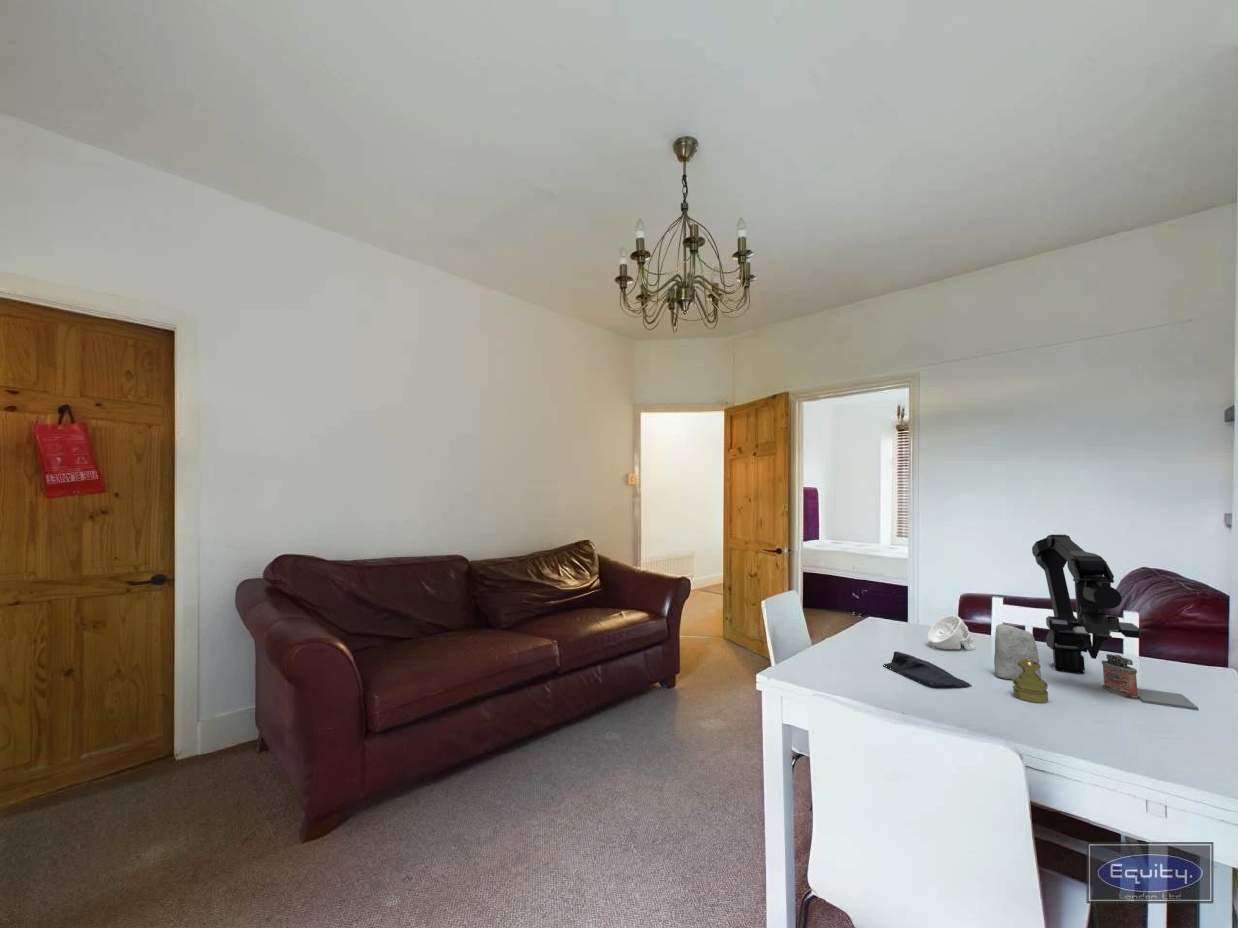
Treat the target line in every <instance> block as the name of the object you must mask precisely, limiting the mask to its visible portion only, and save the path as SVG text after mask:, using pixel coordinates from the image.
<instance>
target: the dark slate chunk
mask: <svg viewBox="0 0 1238 928" xmlns="http://www.w3.org/2000/svg"><path fill="white" fill-rule="evenodd" d="M883 664H884V665H885V666H887V667H889V668H888V669H890V668H891V669H890V670H892V669H893V670H894V671H893V670H892V671H893V672H895V671H896V672H895V673H897V672H899V673H901V674H900V675H902V674H903V675H902V676H905V675H906V676H905V677H908V676H909V677H908V678H910V679H912V678H913V680H914V679H915V680H914V681H916V682H919V681H920V682H919V683H921V684H923V683H924V685H926V686H929V687H949V688H970V687H973V685H971V684H970V683H969V682H967V681H965V680H964V679H961V678H958V677H957V676H954V675H953V674H952V673H950V672H949V671H946V670H945V669H944V668H942V667H939V666H937V665H935V664H934V663H932V662H929V661H928V660H923V659H921V658H919V657H916V656H913V655H911V654H907V653H904V652H901V651H893V657H892V659H891V662H890V663H889V662H888V663H883ZM884 665H883V666H884ZM885 666H884V667H885ZM899 673H898V674H899Z"/></svg>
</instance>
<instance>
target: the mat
mask: <svg viewBox="0 0 1238 928" xmlns="http://www.w3.org/2000/svg"><path fill="white" fill-rule="evenodd" d="M1137 693H1138V695H1139V699H1138V700H1140V702H1142V703H1145V704H1153V705H1158V706H1166V707H1174V708H1179V709H1180V708H1181V709H1187V710H1193V711H1194V710H1195V711H1199V707H1198V706H1197V705H1196V704H1195V703H1193V702H1192V701H1191V700H1189V699H1188V698H1187V697H1186V696H1185V695H1184V694H1182V693H1176V692H1170V691H1163V690H1161V691H1160V690H1154V689H1146V688H1140V687H1137Z"/></svg>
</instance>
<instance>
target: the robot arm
mask: <svg viewBox="0 0 1238 928" xmlns="http://www.w3.org/2000/svg"><path fill="white" fill-rule="evenodd" d="M1031 553H1032V555H1033V557H1034V558H1035V562H1036V564H1037V565H1038V566H1039V567H1040V568H1041V569H1042V570H1043V571H1044V574H1045V579H1046V584H1047V588H1048V592H1049V597H1050V602H1051V607H1052V612H1053V615H1048V616H1047V617H1046V619H1045V623H1046V626H1047V628H1048V629H1049V631H1048V632H1047V635H1046V637H1045V643H1046V646H1047V647H1048V648H1049V649H1051V650H1052V658H1053V659H1052V660H1053V662H1052V666H1053V668H1054V669H1055V670H1056V671H1057V672H1067V673H1073V674H1082V675H1084V674H1085V671H1086V669H1085V666H1086V665H1085V657H1084V656H1083V655H1082V653H1088V654H1089V656H1090V658H1091V659H1092V660H1093V659H1094V660H1096V659H1097V657H1098V655H1099V652H1100V651H1101V647H1102V645H1103V644H1104V642H1105V641H1106V640H1108V639H1112V638H1113V636H1112V635H1111V633H1120V634H1121V635H1123V636H1124V637H1125V638H1133V639H1142V631H1141V628H1139V627H1138V626H1137V625H1136V624H1134V623H1130V622H1122V621H1120V618H1119V616H1116V615H1115V616H1114V615H1107V614H1106V611H1105V609H1108V610H1111V609H1115V608H1117V607H1119V606H1120V605H1121V602H1122V601H1123V600H1122V595H1121V593H1120V592H1119V591H1118V590H1117V589H1116V588H1114V587H1112V584H1114V583H1115V579H1114V578H1115V575H1114V574H1113V571H1112V570H1111V569H1110V566H1109V565H1108V563H1107V561H1106V560H1105V559H1104V558H1103V557H1102V556H1100V555H1099V554H1097V553H1094V552H1089V551H1085V550H1084V549H1083V548H1081V547H1080V546H1079V545H1078V544H1077V543H1076V542H1075V541H1073V540H1072V538H1071V537H1070V535H1067V534H1054V533H1053V534H1048V535H1047V536H1046V537H1045V538H1042V539H1039V540H1036V542H1035V543H1034V544H1033V545H1032V548H1031ZM1066 564H1067V569H1068V571H1069V573H1070V574H1071V576H1072V581H1073V582H1074V591H1075V592H1074V593H1075V607H1076V608H1075V610H1076V616H1075V615H1074V611H1073V607H1072V601H1071V598H1070V597H1071V596H1070V593H1069V592H1070V591H1069V589H1068V584H1067V579H1066V575H1065V571H1064V568H1065V566H1066Z"/></svg>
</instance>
